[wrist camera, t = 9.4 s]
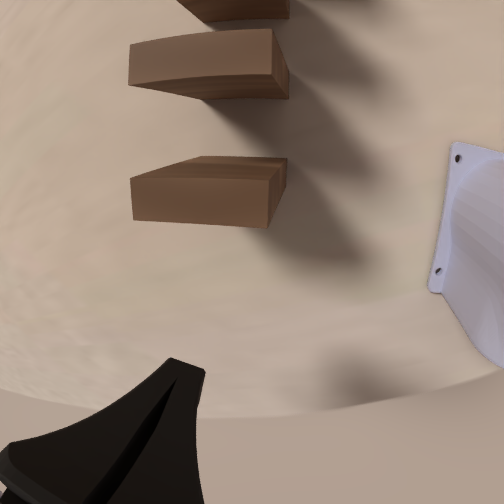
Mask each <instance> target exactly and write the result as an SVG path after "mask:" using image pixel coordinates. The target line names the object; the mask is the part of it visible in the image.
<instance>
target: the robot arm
mask: <svg viewBox="0 0 504 504" xmlns="http://www.w3.org/2000/svg"><path fill="white" fill-rule="evenodd" d="M456 155H459V157H460V160H459V162H458V163H456V161H455V156H456ZM438 268H441V270H440V271H439V272H438V273H435V271H436V270H437V269H438ZM427 288H428V289H429V291H430V292H433V293H441V294H442V295H443V297H444V298H445V300H446V301H447V303H448V304H449V306H450V308H451V309H452V311H453V312H454V314H455V316H456V317H457V319H458V320H459V322H460V324H461V325H462V327H463V329H464V330H465V332H466V334H467V335H468V337H469V339H470V341H471V342H472V344H473V345H474V346H475V348H476V349H477V350H478V351H479V352H480V353H481V354H482V355H483V356H484V357H486V358H487V359H488V360H490V361H491V362H493V363H494V364H496V365H497V366H499V367H501V368H504V153H501V152H498V151H494V150H490V149H487V148H483V147H479V146H475V145H471V144H466V143H462V142H454V143H452V144H451V146H450V154H449V164H448V174H447V182H446V190H445V197H444V203H443V210H442V216H441V221H440V227H439V232H438V237H437V242H436V247H435V252H434V256H433V261H432V265H431V269H430V274H429V278H428V281H427ZM205 373H206V372H205V370H204V369H202V368H199V367H196V366H194V365H191V364H188V363H185V362H182V361H179V360H177V359H174V358H168V359H167V360H166V361H165V362H164V363H163V364H162V365H161V366H160V367H159V368H158V369H157V370H156V371H155V372H153V373H152V374H151V375H150V376H149V377H148V378H146V379H145V380H144V381H143V382H141V383H140V384H139V385H138V386H136V387H135V388H134V389H132V390H131V391H130V392H128V393H127V394H126V395H124V396H123V397H121V398H120V399H118V400H117V401H115V402H114V403H112V404H111V405H109V406H107V407H106V408H104V409H102V410H101V411H99V412H97V413H95V414H93V415H92V416H90V417H88V418H86V419H83V420H81V421H79V422H77V423H75V424H73V425H70V426H68V427H65V428H63V429H60V430H57V431H54V432H51V433H48V434H45V435H42V436H38V437H34V438H30V439H25V440H21V441H16V442H11V443H9V444H8V445H7V447H5V448H4V449H3V450H2V451H1V452H0V481H1V482H2V483H3V484H4V485H5V486H6V487H7V489H6V490H5V492H4V493H2V492H1V491H0V504H204V500H203V495H202V489H201V484H200V478H199V471H198V463H197V448H196V417H197V407H198V404H199V401H200V396H201V392H202V387H203V382H204V378H205Z"/></svg>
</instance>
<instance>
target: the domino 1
mask: <svg viewBox="0 0 504 504" xmlns="http://www.w3.org/2000/svg"><path fill="white" fill-rule="evenodd" d="M177 1H178V2H179V3H180V4H181V5H183V6H184V7H185V8H186V9H188V10H189V11H190V12H191V13H192V14H194V15H195V16H196V17H197V18H198V19H199V20H201V21H202V22H203V23H207V22H217V21H229V20H244V19H289V0H177Z"/></svg>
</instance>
